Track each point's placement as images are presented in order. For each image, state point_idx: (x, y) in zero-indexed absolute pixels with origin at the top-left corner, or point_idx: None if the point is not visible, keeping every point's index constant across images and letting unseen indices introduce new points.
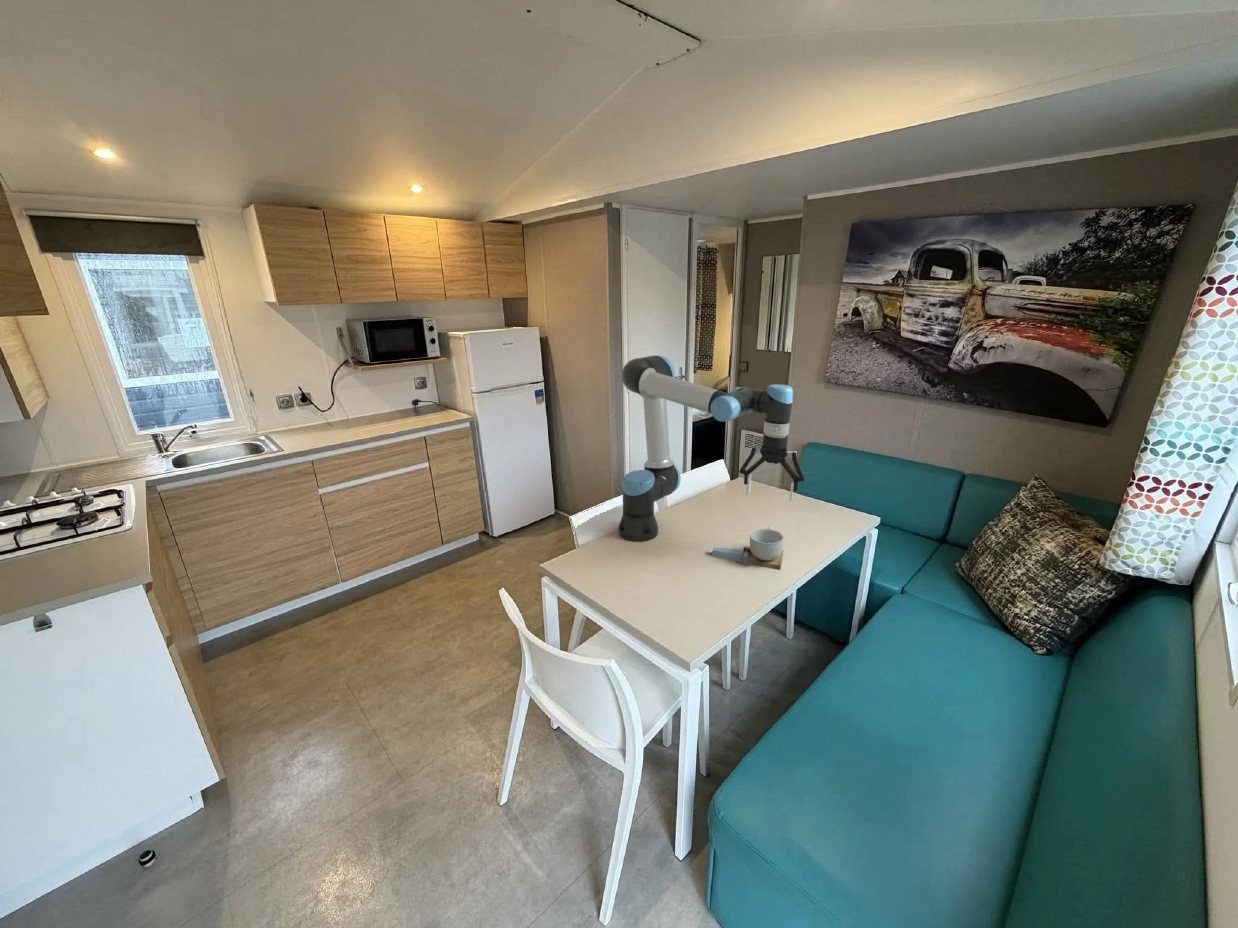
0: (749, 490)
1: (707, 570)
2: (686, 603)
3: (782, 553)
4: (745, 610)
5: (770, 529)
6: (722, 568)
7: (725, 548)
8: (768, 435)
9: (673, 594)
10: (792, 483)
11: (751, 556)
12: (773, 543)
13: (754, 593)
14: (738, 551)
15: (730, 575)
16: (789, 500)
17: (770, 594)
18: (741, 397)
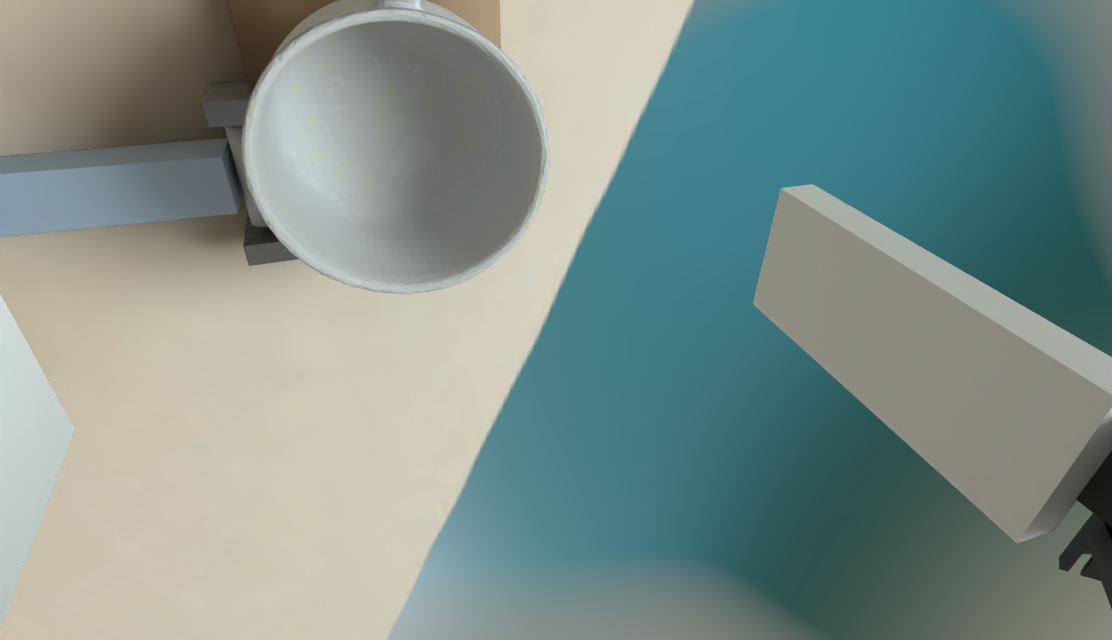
0: (10, 408)
1: (97, 389)
2: (181, 614)
3: (496, 9)
4: (415, 526)
5: (413, 16)
6: (170, 328)
7: (59, 171)
8: None
9: (85, 610)
10: (1014, 518)
11: None
12: (484, 268)
13: (419, 429)
14: (190, 179)
15: (253, 366)
16: (762, 307)
17: (484, 401)
18: None
